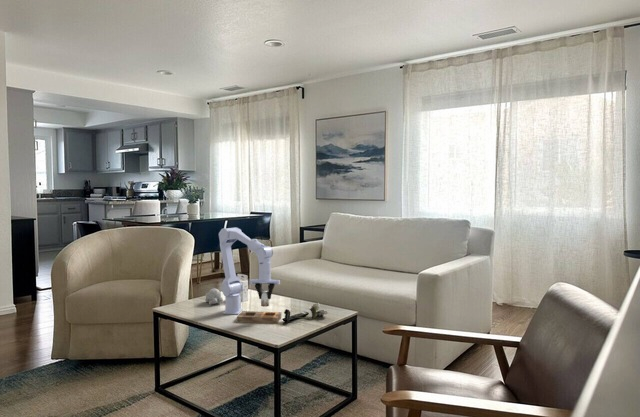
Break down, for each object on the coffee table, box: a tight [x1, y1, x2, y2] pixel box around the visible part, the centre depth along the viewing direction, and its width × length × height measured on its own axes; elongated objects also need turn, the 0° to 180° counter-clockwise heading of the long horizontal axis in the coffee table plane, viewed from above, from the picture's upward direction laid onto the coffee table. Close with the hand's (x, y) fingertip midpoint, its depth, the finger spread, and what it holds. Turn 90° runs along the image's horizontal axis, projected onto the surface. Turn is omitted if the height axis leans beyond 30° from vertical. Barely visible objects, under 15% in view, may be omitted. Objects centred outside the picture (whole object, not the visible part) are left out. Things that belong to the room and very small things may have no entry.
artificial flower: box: [283, 302, 329, 324], centre depth 224 cm, size 9×22×10 cm, turn 115°
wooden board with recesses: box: [236, 310, 282, 324], centre depth 223 cm, size 10×20×3 cm, turn 84°
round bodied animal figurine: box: [204, 287, 224, 306], centre depth 254 cm, size 7×12×8 cm, turn 47°
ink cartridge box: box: [231, 273, 249, 303], centre depth 261 cm, size 9×5×15 cm, turn 58°
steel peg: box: [260, 290, 270, 308], centre depth 222 cm, size 4×4×7 cm
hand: (265, 298), depth 222 cm, fingers closed on steel peg, 4 cm apart
